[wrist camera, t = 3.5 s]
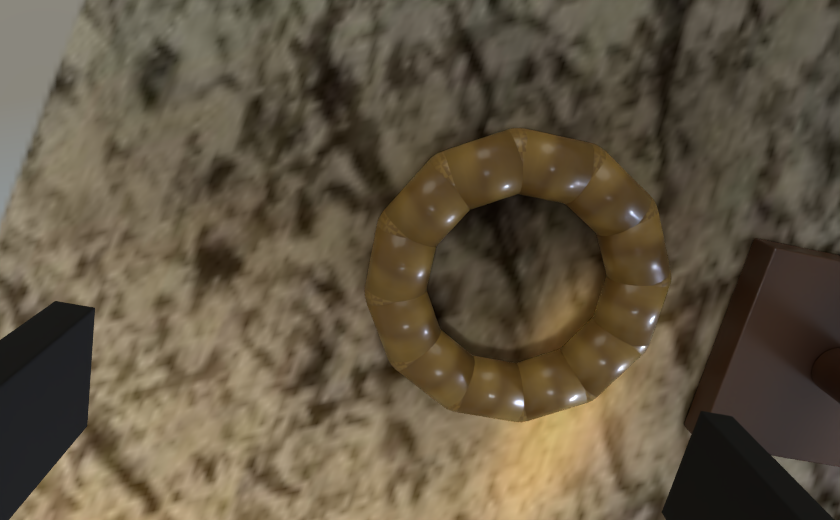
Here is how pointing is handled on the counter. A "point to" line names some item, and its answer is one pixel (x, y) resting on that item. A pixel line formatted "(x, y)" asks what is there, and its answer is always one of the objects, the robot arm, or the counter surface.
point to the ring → (488, 182)
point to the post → (780, 354)
